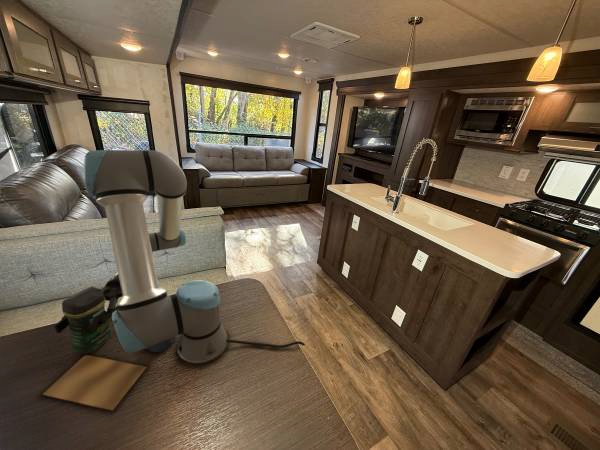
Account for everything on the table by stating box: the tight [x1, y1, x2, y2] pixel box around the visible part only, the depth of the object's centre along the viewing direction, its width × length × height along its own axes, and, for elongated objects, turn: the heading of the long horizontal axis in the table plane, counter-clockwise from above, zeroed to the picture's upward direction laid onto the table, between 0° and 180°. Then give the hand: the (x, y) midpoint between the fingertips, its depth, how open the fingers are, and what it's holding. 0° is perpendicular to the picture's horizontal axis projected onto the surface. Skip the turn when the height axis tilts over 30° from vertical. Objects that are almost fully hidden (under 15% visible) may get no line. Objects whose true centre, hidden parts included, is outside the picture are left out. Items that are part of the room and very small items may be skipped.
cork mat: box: [42, 354, 148, 412], centre depth 68 cm, size 20×12×1 cm, turn 82°
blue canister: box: [147, 337, 174, 353], centre depth 79 cm, size 8×8×11 cm
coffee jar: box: [61, 286, 113, 355], centre depth 75 cm, size 10×8×19 cm
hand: (73, 330), depth 70 cm, fingers closed on coffee jar, 8 cm apart
